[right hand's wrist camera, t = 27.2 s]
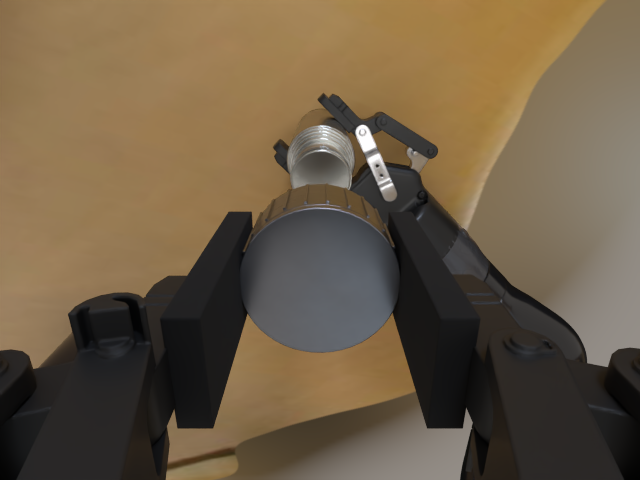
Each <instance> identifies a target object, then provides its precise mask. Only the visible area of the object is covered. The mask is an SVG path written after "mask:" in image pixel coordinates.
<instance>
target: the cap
mask: <svg viewBox="0 0 640 480" xmlns="http://www.w3.org/2000/svg"><path fill="white" fill-rule="evenodd" d="M394 249H395V245H394V243H393V241H392V238H391V236H390V233H389V231H388V229H387V226H386V224H385V223H384V224H383V222H382V220H381V218H380V216H379V214H378V211H377V209H376V208H375V209H374V208H373V207H372V206H371V205H370V204H369V203H368V202H367V201H366V200H365V199H364V197H363V196H359V195H357V194H356V193H354V192H352V191H350V190H347V188H346V187H345V188H342V187H338V186H334V185H328V183H326V184H313V185H309V184H306V186H301V187H298V188H295V189H292V190H290V189H289V190H288V191H287V192H286V193H284V194H282V195H281V196H279V197H278V198H277V199H275V200H274V199H273V200H272V202H271V204H270V205H269V206H268V207H267V208H266V209H265V210H264V212H263V213H262V212H261V213H260V215H259V217H258V219H257V222H256V224H255V226H254V228H253V229H252V231H251V233H250V236H249V238H248V240H247V242H246V245H245V247H244V249H243V252H242V253H243V254H244V255H243V257H242V260H241V264H240V269H239V270H240V284H241V297H242V302H243V305H244V307H245V309H246V311H247V313H248V315H249V316H250V318H251V319H252V320H253V322H254V323H255V324H256V325H257V326H258V327H259V329H260V330H262V331H263V332H264V333H265V334H266V335H267V336H269V337H270V338H272V339H274V340H275V341H277V342H279V343H281V344H283V345H285V346H288V347H290V348H293V349H297V350H301V351H307V352H321V353H323V352H333V351H339V350H343V349H346V348H349V347H352V346H355V345H357V344H359V343H361V342H363V341H364V340H366V339H368V338H369V337H371V336H372V335H373V334H375V333H376V332H377V331H378V330H379V329H380V328H381V327H382V326H383V325H384V324H385V322H386V321H387V320H388V319H389V317H390V315H391V314H392V312H393V310H394V308H395V306H396V304H397V301H398V298H399V288H400V275H401V272H400V266H399V262H398V259H397V256H396V253H395V251H394Z"/></svg>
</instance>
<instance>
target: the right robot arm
mask: <svg viewBox="0 0 640 480" xmlns="http://www.w3.org/2000/svg"><path fill="white" fill-rule="evenodd" d="M252 229H253V227H252V212H228V214H227V215H226V217H225V219H224V220H223V222H222V223H221V225H220V226H219V228H218V229H217V231H216V232H215V234H214V235H213V237H212V239H211V240H210V242H209V243H208V245H207V246H206V248H205V249H204V251H203V252H202V254H201V256H200V257H199V259H198V260H197V262H196V263H195V265H194V266H193V268H192V269H191V271H190V273H189V274H188V276H168V277H166V278H164V279H163V280H161V281H159V282H158V283H156V284H155V285H154V286H153V287H152V288H151V289H150V291H149V292H148V293H147V295H146V297H144V298H142V297H141V296H139V295H137V294H132V293H111V294H106V295H100V296H98V297H95V298H92V299H89V300H86V301H85V302H83V303H81V304H79V305H77V306H76V307H75V308H74V309H73V310H72V311H71V312H70V313H69V314H68V316H69V320H70V324H71V328H72V332H73V335H74V339H75V343H76V347H77V351H78V352H77V354H76V357H75V359H74V361H71V362H67V363H62V364H57V365H52V366H47V367H41V368H36V369H33V367H32V364H31V361H30V358H29V356H28V355H27V354H26V353H24V352H23V351H17V350H3V351H0V480H166V471H167V462H168V454H169V445H170V443H169V437H168V431H167V424H168V422H169V420H170V417H171V415H172V413H173V411H174V409H175V415H176V422H177V428H213V427H214V424H215V420H216V417H217V414H218V410H219V407H220V404H221V400H222V397H223V394H224V390H225V387H226V384H227V380H228V377H229V374H230V370H231V367H232V364H233V360H234V357H235V353H236V350H237V347H238V343H239V340H240V337H241V333H242V330H243V327H244V323H245V320H246V317H247V311H246V309H245V307H244V305H243V302H242V297H241V284H240V270H239V269H240V264H241V260H242V257H243V255H244V254H243V253H242V252H243V249H244V247H245V245H246V242H247V240H248V238H249V236H250V233H251V231H252ZM388 231H389V233H390V236H391V238H392V241H393V243H394V245H395V249H394V251H395V253H396V256H397V259H398V262H399V266H400V272H401V275H400V288H399V298H398V301H397V304H396V306H395V308H394V310H393V316H394V319H395V322H396V326H397V329H398V332H399V336H400V339H401V343H402V346H403V349H404V353H405V356H406V359H407V363H408V366H409V369H410V373H411V376H412V379H413V383H414V386H415V389H416V393H417V396H418V399H419V402H420V406H421V409H422V413H423V416H424V419H425V423H426V426H427V428H463V423H464V417H465V411H466V408H467V410H468V412H469V415H470V417H471V419H472V422H473V424H474V425H473V431H472V437H471V442H470V448H469V454H468V459H467V466H466V471H468V472H471V471H472V466H473V470H474V479H475V480H640V349H637V348H625V349H618V350H617V351H616V352H614V353H613V354H612V356H611V359H610V362H609V365H608V367H603V366H598V365H593V364H588V363H583V362H578V361H573V360H569V359H566V358H565V356H564V354H563V352H562V350H561V349H560V348H559V347H558V345H557V344H556V343H555V342H553V341H552V340H550V339H549V338H547V337H546V336H544V335H541V334H539V333H536V332H534V331H531V330H526V329H522V328H521V327H520V326H519V324H518V323H517V322H516V320H515V319H514V318H513V317H512V315H511V314H510V313H509V312H508V310H507V309H506V308H505V306H504V305H501V301H500V300H499V299H498V297H497V296H495V295H494V292H493V291H492V290H491V289H490V287H489V286H488V285H487V283H485V282H483V281H482V280H480V279H478V278H477V277H475V276H474V275H472V274H451V272H450V270H449V269H448V267H447V266H446V264H445V263H444V261H443V260H442V258H441V257H440V255H439V254H438V252H437V250H436V249H435V247H434V246H433V244H432V243H431V241H430V240H429V238H428V237H427V235H426V233H425V232H424V230H423V229H422V227H421V226H420V224H419V223H418V221H417V220H416V218H415V217H414V215H413V213H412V212H389V215H388Z"/></svg>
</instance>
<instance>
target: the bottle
mask: <svg viewBox="0 0 640 480" xmlns="http://www.w3.org/2000/svg"><path fill="white" fill-rule="evenodd" d="M287 166H288V171H289V174H290V180H291V185H292V188H293V189H295V188H298V187H301V186H306V184H309V185H313V184H326V183H328V185H334V186H338V187H342V188H345V187H346V188H347V190H349V189H350V187H351V182H352V174H353V171H354V166H355V153H354V149H353V146H352V144H351V142H350V139H349V137H348V135H347V132H346V130H345V128H344V127H343V126H342V125H341V124H340V123H339V122H338V121H337V120H336V119H335V118H334V117H333V116H332V115H331V114H330V113H329V112H328V110H326V109H316V110H313V111H310V112H309V113H307V114H306V115H305V116H304V117H303V118H302V119H301V121H300V123H299V125H298V127H297V130H296V132H295V134H294V137H293V139H292V142H291V144H290V146H289V149H288V153H287Z"/></svg>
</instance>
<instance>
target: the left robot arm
mask: <svg viewBox="0 0 640 480" xmlns="http://www.w3.org/2000/svg"><path fill="white" fill-rule="evenodd" d="M318 101H319V102H320V103H321V104H322V105H323V106H324V107H325V108H326V109H327V110H328V112H329V113H330V114H331V115H332V116H333V117H334V118H335V119H336V120H337V121H338V122H339V123H340V124H341V125H342V126H343V127H344V128H345V129H346V130H347V131H348V132H349V133H350V132H352V133H353V134H354V135H355V136H356V138H357V140H358V142H359V145H360V147H361V149H362V152H363V154H364V156H365V158H366V161H367V162H366V163H365V164H364V165H363V166H362V167H361V168H360V169H359V171H358V173H357V174H356V176H355V177H353V178H352V182H351V187H350V189H349V190H350V191H352V192H354V193H356V194H357V195H359V196H363V197H364V199H365V200H366V201H367V202H368V203H369V204H370V205H371V206H372V207H373V208H374V209H375V208H376V209H377V211H378V214H379V216H380V218H381V220H382V222H383V224H384V223H385V224H386V226H387V229H388V215H389V212H412V213H413V215H414V217H415V218H416V220H417V221H418V223H419V224H420V226H421V227H422V229H423V230H424V232H425V233H426V235H427V237H428V238H429V240H430V241H431V243H432V244H433V246H434V247H435V249H436V250H437V252H438V254H439V255H440V257H441V258H442V260H443V261H444V263H445V264H446V266H447V267H448V269H449V270H450V272H451V274H472V275H474V276H475V277H477V278H478V279H480V280H482V281H483V282H485V283H487V285H488V286H489V287H490V289H491V290H492V291H493V292H494V295H495V296H497V297H498V299H499V300H500V301H501V305H504V306H505V308H506V309H507V310H508V312H509V313H510V314H511V315H512V317H513V318H514V319H515V320H516V322H517V323H518V324H519V326H520V327H521V328H522V329H526V330H531V331H534V332H536V333H539V334H541V335H544V336H546V337H547V338H549V339H550V340H552V341H553V342H555V343H556V344H557V345H558V347H559V348H560V349H561V350H562V352H563V354H564V356H565V358H566V359H569V360H573V361H578V362H583V363H587V356H586V351H585V348H584V346H583V343H582V341H581V339H580V338H579V336H578V334H577V333H576V332H575V331H574V329H573V328H572V327H571V326H570V325H569V324H568V323H567V322H566V321H565V320H563V319H562V318H561V317H560V316H558V315H557V314H556V313H554V312H553V311H551V310H550V309H548V308H547V307H545V306H544V305H542V304H541V303H540V302H538V301H537V300H535V299H534V298H532V297H531V296H529V295H527V294H526V293H524V292H522V291H520V290H518V289H517V288H515V287H514V286H512V285H511V284H510V283H509V282H508V281H507V279H506V278H505V277H504V276H503V275H502V274H501V273H500V272H499V271H498V270H497V269H496V268H495V266H494V265H493V264H492V263H491V262H490V261H489V260H488V259H487V258H486V257H485V256H484V254H483V253H482V252H481V250H480V249H479V247H478V246H477V244H476V243H475V241H474V240H473V239H472V238H471V237H470V236H469V234H468V233H467V231H466V230H465V229H464V228H462V227H461V226H460V225H459V224H458V223H457V222H456V221H455V220H454V219H453V218H452V216H451V215H450V214H449V213H448V212H447V211H446V210H445V209H444V208H443V207H442V206H441V205H440V204H439V203H438V201H437V200H436V199H435V198H434V197H433V196H432V195H431V194H430V193H429V192H428V191H427V190H426V189H425V188H424V186H423V184H422V181H421V176H420V174H419V173H420V171H421V170H422V168H423V167H424V166H425V164H426V163H427V161H428V160H429V159H432V158H434V157H435V156H436V155H437V153H438V149H437V147H436V146H435V145H434V144H432V143H430V142H429V141H427V140H426V139H424V138H423V137H421V136H419V135H418V134H416V133H415V132H413V131H411V130H410V129H408V128H407V127H405V126H404V125H402V124H400V123H399V122H397V121H396V120H394V119H392V118H391V117H389V116H388V115H386V114H385V113H383V112H377V113H376V114H375V115H374V116H371V117H369V118H367V119H360V118H358V117H357V116H356V115H355V113H354V112H353V111H352V110H351V109H350V108H349V107H348V106H347V105H346V104H345V103H344V102H343V101H342V100H341V98H340V97H339V96H337V95H335V94H332V95H331V96H330V97H329V98H328V97H327V96H326V95H325V94H324V93H323V94H322V95H321V96H320V97H319V98H318ZM381 130H383V131H384V132H386V133H388V134H389V135H391V136H392V137H394V138H396V139H397V140H399V141H400V142H402V143H404V144H405V145H407V147H406V148H405V154H406V155H407V156H408V157H409V159H410V165H409V166H406V165H400V164H394V163H387V162H383V159H382V157H381V155H380V152H379V150H378V148H377V146H376V144H375V141H374V139H373V137H372V135H373V134H375V133H377V132H379V131H381ZM273 148H274V150H275V151H276V152H277V153H276V154H275V156H274V157H275V159H276V161H277V163H278V164H279V165H281V166H282V167H283V168H284V169H285V170H286V171H287V172H288V173H289V171H288V166H287V153H288V149H289V146H288V145H287V144H286V143H285V142H284V141H282V140H281V139H280V140H279V141H278V142H277V143H276V144H275V145H274V147H273ZM77 352H78V351H77V347H76V343H75V339H74V335H73V332H72V333H71V334H70V335H69V336H68V337H67V338H66V339H65V340H64V341H63V342H62V343H61V345H60V346H59V347H58V348H57V349H56V350H55V351H54V352H53V353H52V354H51V355H50V356H49V357H48V358H47V359H46V360H45V361H44V362H43V363H42V364H41V366H40V367H39V368H41V367H47V366H52V365H57V364H62V363H67V362H71V361H74V359H75V357H76V354H77ZM473 425H474V424H473ZM473 425H472V429H471V432H470V436H469V440H468V445H467V449H466V453H465V457H464V461H463V465H462V471H461V477H460V480H475V479H474V470H473V466H472V471H471V472H468V471H466V466H467V459H468V454H469V448H470V442H471V437H472V431H473Z"/></svg>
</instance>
